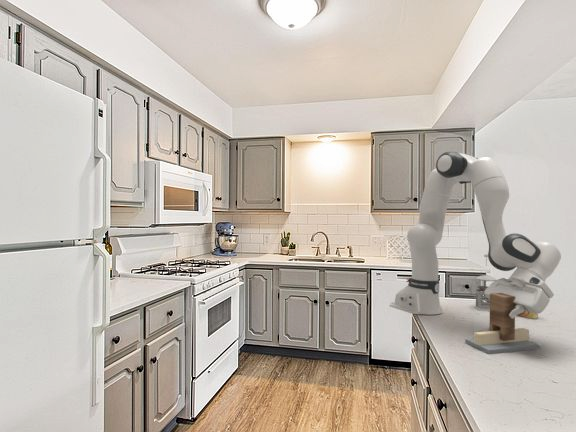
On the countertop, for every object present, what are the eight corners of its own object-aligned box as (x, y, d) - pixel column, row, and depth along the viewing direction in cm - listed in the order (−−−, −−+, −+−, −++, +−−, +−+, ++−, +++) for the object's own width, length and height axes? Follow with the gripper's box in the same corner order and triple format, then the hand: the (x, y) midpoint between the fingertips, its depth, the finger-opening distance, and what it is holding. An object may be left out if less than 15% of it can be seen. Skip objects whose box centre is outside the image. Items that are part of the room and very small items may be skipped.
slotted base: (488, 354, 110) (489, 338, 110) (465, 342, 120) (465, 328, 120) (539, 348, 115) (540, 333, 115) (513, 337, 125) (513, 324, 125)
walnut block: (503, 340, 114) (503, 297, 114) (489, 335, 119) (489, 293, 119) (514, 339, 115) (515, 296, 115) (500, 333, 121) (500, 292, 120)
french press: (501, 312, 157) (502, 255, 157) (473, 310, 159) (473, 254, 159) (493, 306, 167) (494, 253, 166) (466, 305, 169) (467, 252, 169)
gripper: (494, 271, 129) (471, 299, 127) (548, 282, 109) (522, 316, 107) (504, 283, 130) (481, 311, 128) (559, 296, 110) (533, 329, 108)
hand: (500, 313), depth 117 cm, fingers closed on walnut block, 5 cm apart
